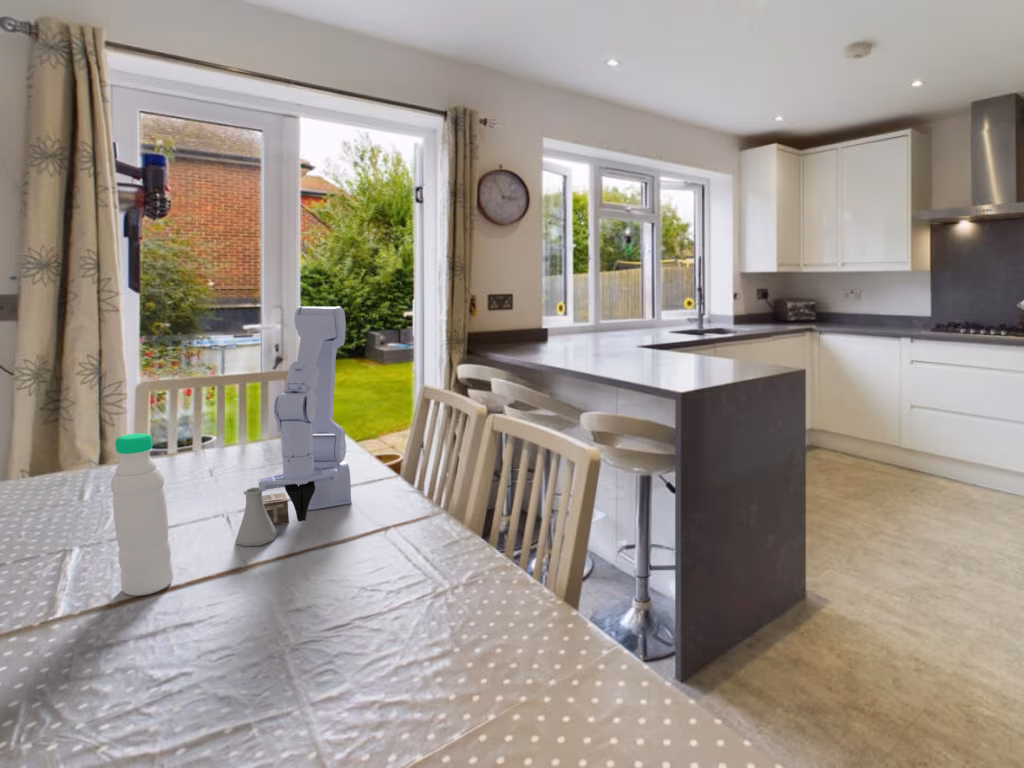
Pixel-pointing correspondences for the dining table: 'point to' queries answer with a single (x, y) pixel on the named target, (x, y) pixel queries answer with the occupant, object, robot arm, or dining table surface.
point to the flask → (255, 521)
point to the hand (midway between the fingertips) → (301, 519)
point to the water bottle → (140, 518)
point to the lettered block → (277, 508)
